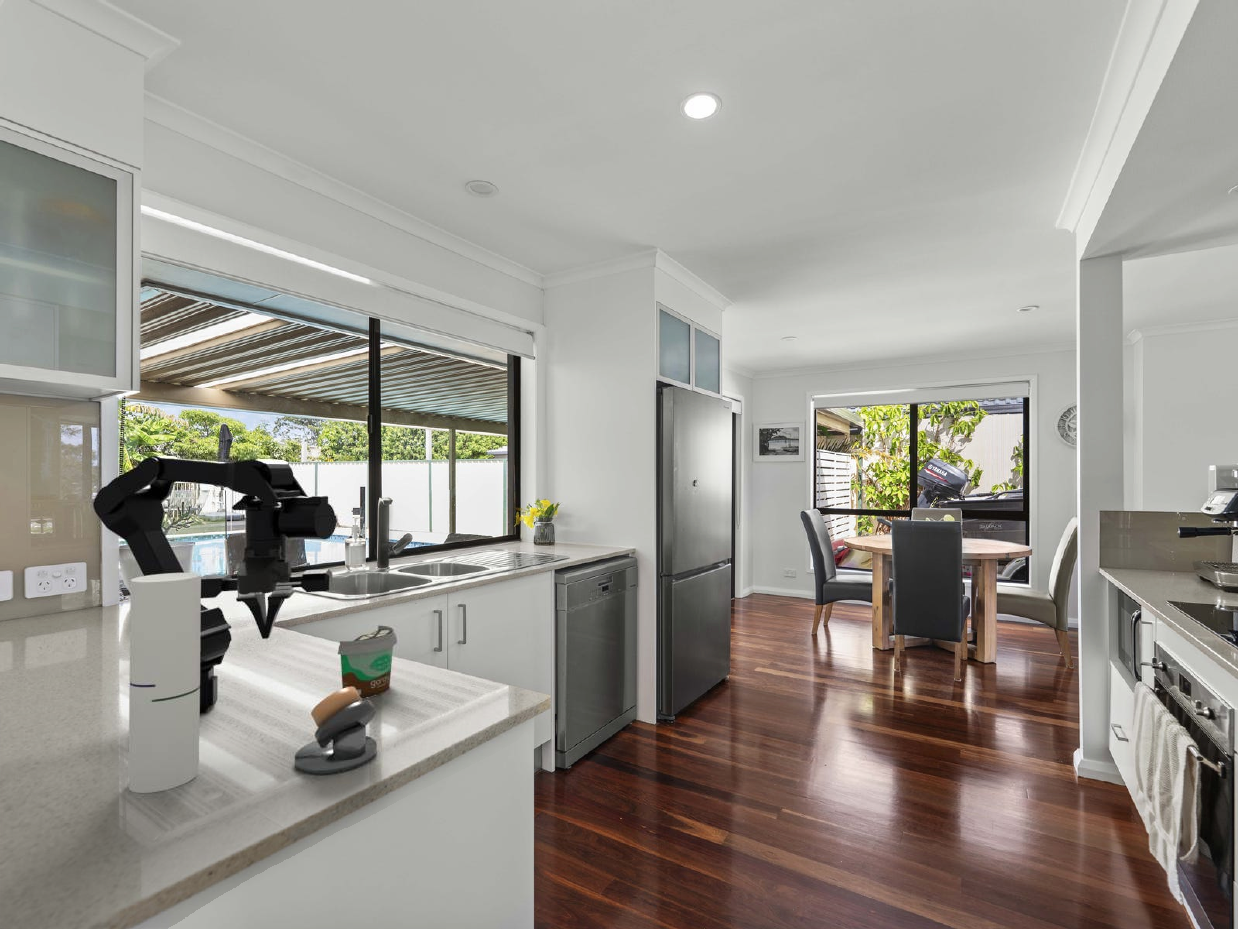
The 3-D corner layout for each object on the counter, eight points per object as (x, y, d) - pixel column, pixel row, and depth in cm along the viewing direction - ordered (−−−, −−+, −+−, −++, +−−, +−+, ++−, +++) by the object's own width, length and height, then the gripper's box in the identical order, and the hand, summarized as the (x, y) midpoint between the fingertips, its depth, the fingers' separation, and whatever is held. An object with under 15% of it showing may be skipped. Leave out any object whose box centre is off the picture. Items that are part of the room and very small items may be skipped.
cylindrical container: (152, 766, 82) (154, 573, 83) (210, 764, 83) (212, 572, 83) (113, 794, 75) (116, 582, 75) (177, 792, 76) (179, 581, 76)
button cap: (302, 732, 84) (303, 689, 84) (341, 717, 89) (342, 676, 89) (331, 741, 81) (331, 696, 81) (370, 725, 86) (370, 683, 86)
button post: (277, 764, 83) (278, 702, 83) (343, 736, 92) (343, 680, 92) (329, 782, 78) (329, 716, 78) (393, 750, 87) (393, 691, 87)
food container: (370, 705, 104) (371, 644, 104) (337, 702, 105) (337, 642, 105) (410, 681, 116) (410, 626, 116) (379, 678, 117) (380, 624, 117)
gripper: (180, 547, 89) (179, 658, 89) (325, 541, 95) (324, 646, 95) (203, 539, 100) (203, 638, 100) (333, 535, 106) (332, 629, 106)
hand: (265, 638), depth 100 cm, fingers closed
